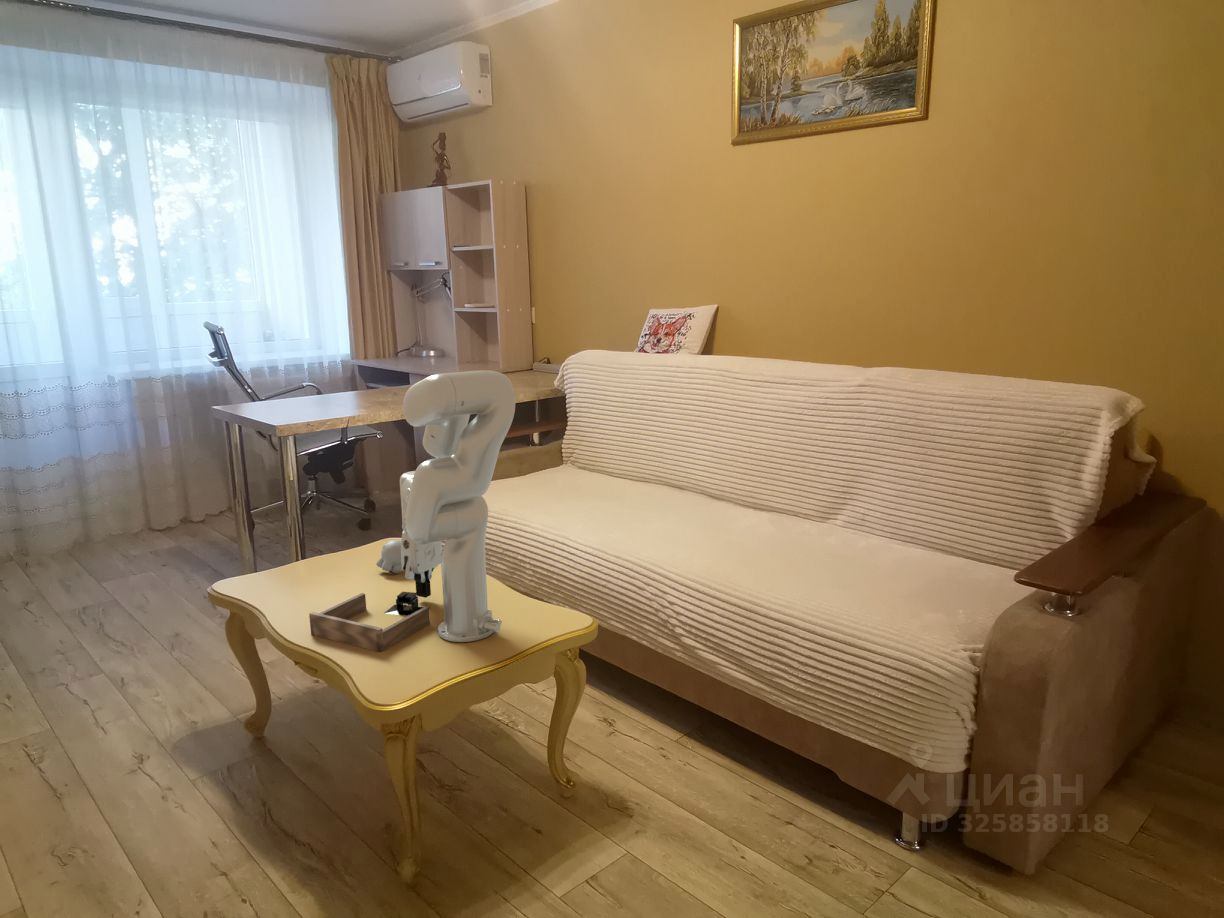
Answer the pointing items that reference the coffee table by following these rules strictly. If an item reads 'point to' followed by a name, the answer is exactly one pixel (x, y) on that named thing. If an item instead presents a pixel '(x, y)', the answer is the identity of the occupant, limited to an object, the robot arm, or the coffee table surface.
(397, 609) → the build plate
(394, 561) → the white animal figurine
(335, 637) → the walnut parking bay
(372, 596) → the coffee table surface
